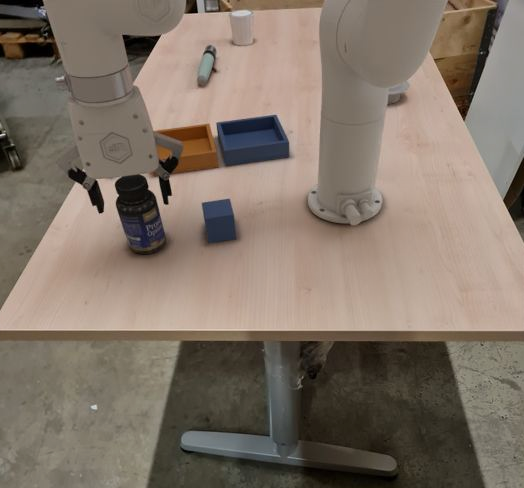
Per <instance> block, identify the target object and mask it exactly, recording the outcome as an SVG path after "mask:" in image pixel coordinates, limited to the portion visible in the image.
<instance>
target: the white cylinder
mask: <svg viewBox="0 0 524 488" xmlns="http://www.w3.org/2000/svg"><path fill="white" fill-rule="evenodd" d="M228 17H229V24H230V28H231V34H232V35H231V36H232V42H233V44H234V45H236V46H248V45H251V44H253V43H254V26H255V24H254V23H255V12H254V11H253V10H251V9H236V10H232V11H231V12H229V13H228Z"/></svg>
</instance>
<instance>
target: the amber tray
mask: <svg viewBox="0 0 524 488" xmlns="http://www.w3.org/2000/svg"><path fill="white" fill-rule="evenodd" d="M153 131H154V132H157V133H159V134H162V135H165V136H168V137H171V138H173V139H176V140H179V141H181V142H182V144H183V151H182V154H181V157H180V159H179V162H178V166H177V167H176V168H175V169H174V171H173V172H172V173H171V175H172V174H179V173H187V172H193V171H200V170H207V169H215V168H219V159H218V152H217V147H216V143H215V140H214V135H213V132H212V129H211V124H210V123H201V124H197V125H196V124H195V125H188V126H179V127H172V128H164V129H158V130H153ZM157 151H158V156H159V157H160V158H161V159H162V160H163V161H166V159H167V158H168V157H169V156H170V154H171V150H169V149H166V148H163V147H160V146H157ZM152 176H153V177H159V175H157V174H156V173H155V172H154V171H153V172H152Z"/></svg>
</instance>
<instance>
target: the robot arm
mask: <svg viewBox="0 0 524 488" xmlns="http://www.w3.org/2000/svg"><path fill="white" fill-rule="evenodd" d="M448 1H449V0H324V1H323V3H322V7H321V10H320V15H319V24H318V37H319V38H318V39H319V49H320V50H319V53H320V64H321V104H320V106H321V107H320V122H319V123H320V125H319V145H318V169H317V183H316V185H314V186H313V187H312V188H311V189H310V190H309V192H308V196H307V205H308V208H309V209H310V212H312V213H313V214H314V215H315V216H317V217H319V219H322V220H325V221H327V222H330V223H336V224H346V225H347V224H350V226H353V227H354V226H358V225H360V223H362V222H364V221H367V220H370V219H371V218H373V217H375V216H376V215H378V213H379V212H380V211H381V208H382V206H383V195H382V192H381V191H380V190H379V189H378V187H376V184H377V183H376V182H377V175H378V169H379V162H380V157H381V156H380V155H381V149H382V141H383V134H384V130H385V129H384V127H385V121H386V116H387V115H386V114H387V109H388V104H387V103H388V92H389V88H392V87H396V86H398V85H401V84H402V83H404V82H406V81H407V82H408V80H409V79H411V78H412V77H413V76H414V75H415V74H416V72H417V71H418V70H419V69H420V68H421V66H422V64H423V63H424V61H425V60H426V58H427V56H428V54H429V52H430V50H431V48H432V46H433V43H434V40H435V37H436V35H437V32H438V30H439V27H440V25H441V22H442V19H443V16H444V13H445V10H446V8H447V4H448ZM42 2H43V6H44V9H45V12H46V15H47V18H48V22H49V24H50V28H51V31H52V34H53V37H54V41H55V44H56V47H57V49H58V53H59V56H60V59H61V62H62V65H63V68H64V72H63V74H61V75H60V76H59V75H58V76H55V77H54V78H55V83H56V87H57V89H58V90H61V89H64V90H68V92H69V93H70V95H69V98H68V100H67V105H68V112H69V118H70V119H69V120H70V124H71V127H72V132H73V136H74V140H75V142H74V143H72V144H71V145H70V146H69V147H67V148H66V149H65V150H63V151H62V152H60V154H58V155H57V156H56V158H55V165H57V166H58V168H60V169H61V170H62V171H63V172H64V173H65V174H66V175H67V176H68V178H69V179H71V180H72V181H74V182H76V183H77V184H79V185H80V186H81V187H82V188H83V189H84V190H86V192H87V195H88V198H89V201H90V203H91V206H92V207H96V211H97V212H98V214H103V213H104V212H105V200H104V196H103V194H102V190H101V187H100V184H99V181H98V180H103V179H104V180H107V179H113V178H115V179H116V178H121V177H123V176H131V175H139V174H140V175H144V174H150V173H153V171H154V172H155V173H156V174H157V175H158V183H159V188H160V193H161V197H162V203H163V205H165V206H167V205H168V206H169V205H170V204H169V197H172V196H173V192H172V187H171V182H170V178H171V175H172V174H173V173H172V172H173V171H174V169H175V168H176V167H177V166H178V162H179V159H180V157H181V154H182V151H183V144H182V142H181V141H179V140H176V139H173V138H171V137H168V136H165V135H162V134H159V133H157V132H154V131H155V130H154V128H153V124H152V121H151V117H150V114H149V111H148V108H147V105H146V103H145V100H144V99H145V98H144V97H143V95H142V92H141V90H140V87H138V86H137V85H134V81H133V78H132V74H131V73H132V72H131V68H130V64H129V60H128V55H127V51H126V46H125V41H124V38H123V36H124V35H126V36H140V37H156V36H157V37H159V36H162V35H166V34H168V33H170V32H172V31H173V30H175V28H177V27H178V26H179V25H180V23H181V21H182V20H183V18H184V15H185V12H186V6H187V0H42ZM157 146H160V147H163V148H166V149H169V150H171V154H170V156H169V157H168V158H167V159H166V161H163V160H162V159H161V158H160V157H159V156H158V151H157ZM78 157H79V158H80V162H81V165H82V168H83V169H80V168H79V167H78V166H75V165H74V164H73V163H72V162H73V161H74V160H76V158H78ZM171 173H172V174H171Z"/></svg>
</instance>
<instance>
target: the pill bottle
mask: <svg viewBox="0 0 524 488" xmlns="http://www.w3.org/2000/svg"><path fill="white" fill-rule="evenodd" d="M149 186H150V185H149V183H148V180H147V178H146V176H145V175H144V174H139V175H131V176H123V177H118V179H116V181H115V182H114V188H115V191H116V194H117V195H118V196H117V197H116V200H115V208H116V210H117V211H116V212H117V214H118V217H119V220H120V223H121V227H122V229H123V233H124V236H125V239H126V243H127V245H128V247H129V249H130V250H131V251H132V252H133V253H135V254H138V255H150V254H153V253H156V252H158V251H160V250H161V249H162V248H164V246H165V245H166V242H167V237H166V233H165V229H164V224H163V219H162V217H161V212H160V208H159V204H158V200H157V196H156V195H155V193H154V192H153V191H152V190H150V189H149Z"/></svg>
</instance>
